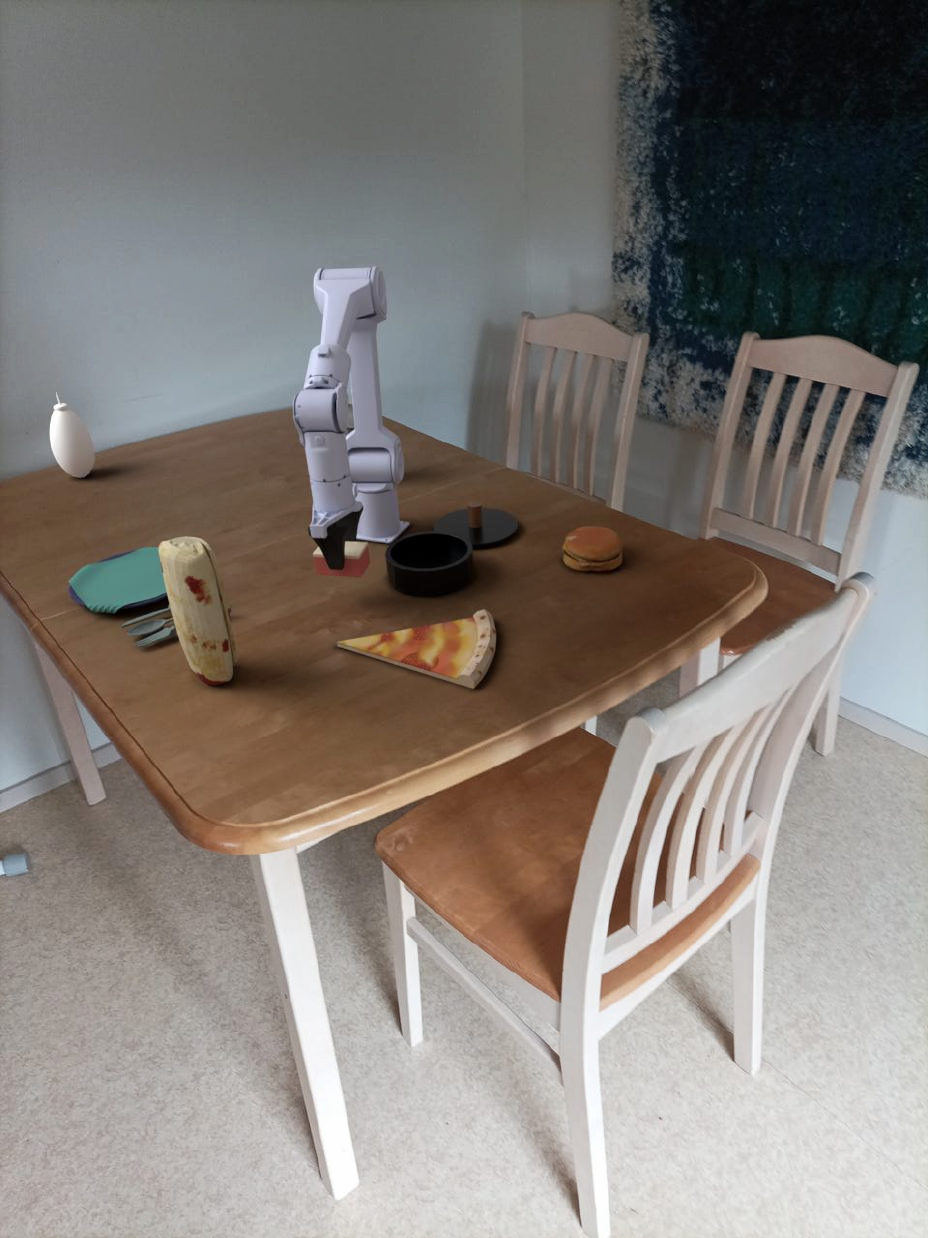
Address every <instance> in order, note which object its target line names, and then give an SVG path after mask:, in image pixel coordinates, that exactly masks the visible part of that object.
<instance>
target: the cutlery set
mask: <svg viewBox="0 0 928 1238" xmlns="http://www.w3.org/2000/svg"><path fill="white" fill-rule="evenodd" d="M158 548H159V546H156V547H155V546H151V547H149V546H145V547H142V548H139V549H136V550H130V551H126V552H122V553H118V554H114V555H111V556H109V557H107V558H104V559H101V560H99V561H97V562H93V563H90V564H86V565H84V566H83V567H82V568H80V569H79V571H77V572H76V573H75V574H74V575H73V576H72V577H71V578H69V580H68V581H67V582H68V583H69V587H68V592H69V595H70V598H71V600H73V601H74V602H75V603H77V604H78V605H79V606H82V607H86V608H88V609H89V610H90V611H91V612H93V613H99V614H100V613H102V614H104V613H108V614H115V613H116V612H117V611H118V610H126V609H132V608H133V609H134V608H138V607H142V606H146V605H149V604H153V603H156V602H159V601H161V600H164V599H166V598H168V595H167V591H166V587H165V582H164V577H163V572H162V568H161V563H160V557H159V551H158ZM228 608H229V613H230V614H231V613H232V608H231V606H229V605H228ZM169 612H170V613H171V614H172V611H171V607H170V604H168V605H167V608H164V609H159V610H156V611H152V612H150V613H147V614H144V615H142V616H139V617H136V618H133V619H130V620H128V621H126V622H124V623H122V624H121V626H120V627H121V629H124V628H127V627H129V626H132V625H135V624H136V625H135V626H132V627H131V628H130V629H129V630H127V632H126V634H127V636H129V637H144V636H148V635H150V636H148V637H145V638H144V639H141V640H138V641H135V642H134V644H135V647H137V648H143V647H147V646H149V645H151V644H154V643H157V642H161V641H166V640H168V639H170V638H173V637H174V636H175V635H178V634H177V631H176V627H175V625H171V626H170V627H164V626H165V625H167V624H169V623H171V622H174V620H173V616H172V617H170V618H169V619H164V618H163V619H162V618H161V619H160V618H159V619H152V618H156V617H158V616H160V615H164V614H167V613H169ZM149 619H151V620H149ZM147 620H148V621H147ZM141 622H142V623H141ZM138 623H139V624H138ZM163 627H164V628H163ZM162 628H163V629H162ZM161 629H162V630H161Z"/></svg>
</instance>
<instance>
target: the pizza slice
mask: <svg viewBox="0 0 928 1238" xmlns="http://www.w3.org/2000/svg"><path fill="white" fill-rule="evenodd" d="M496 644H497V630H496V627H495V622H494V617H493V615H492V614H491V612H490V611H488V610H487V609H486V608H484V609H481V610H477V611H476V612H475V613H474V614H473V615H472V617H468V618H462V619H456V620H451V621H445V622H440V623H434V624H429V625H422V626H418V627H412V628H406V629H401V630H396V631H389V632H384V633H378V634H372V635H367V636H362V637H356V638H350V639H346V640H340V641H339V640H338V641H336V645H337V646H336V647H338V648H341V649H345V650H348V651H352V652H354V653H357V654H360V655H364V656H367V657H370V658H373V659H377V660H380V661H383V662H387V663H389V664H393V665H395V666H398V667H402V668H405V669H408V670H412V671H415V672H418V673H421V674H424V675H428V676H431V677H434V678H437V679H440V680H443V681H447V682H450V683H453V684H456V685H459V686H462V687H465V688H468V689H472V690H474V689H475V688H476V687H478V685H479V684H480V682H481V681H482V680H483V679H484V677H485V675H486V674H487V672H488V671H489V668H490V666H491V663H492V661H493V659H494V655H495V653H496V646H497V645H496Z"/></svg>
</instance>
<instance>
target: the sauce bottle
mask: <svg viewBox="0 0 928 1238" xmlns="http://www.w3.org/2000/svg"><path fill="white" fill-rule="evenodd" d="M55 396H56V399H57V404H55V405H53V413H52V415H51V418H50V424H49V442H50V447H51V450H52V453H53V456H54V458H55V460H56V462H57V464H58V465H59V467H60V468H61V469H62V470H63V471H64V472H65V473H66V474H68V475H71V476H72V477H74V478H78V479H82V478H85V477H86V476H87V475H89V474H90V472H91V471H92V470H93V469H94V466H95V462H96V450H95V444H94V441H93V439H92V437H91V434H90V432H89V430H88V429H87V427H86V425H85V424H84V422H83V421H82V420H81V419H80V417H79V416H78V415H77V414H76V412H75V411H74V410H72V409H71V408H69V405H68V404H67V403H66V402H65V403H63V402H61V397H60V395H59V394H58V392H57V391H56V392H55ZM84 473H85V474H84ZM73 474H74V475H73Z"/></svg>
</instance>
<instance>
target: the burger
mask: <svg viewBox="0 0 928 1238" xmlns="http://www.w3.org/2000/svg"><path fill="white" fill-rule="evenodd" d="M623 547H624V546H623V542H622V540H621V537H620V535H619V534H618V533H617V532H616V531H615V530H613V529H610V528H608V527H603V526H594V525H593V526H592V525H591V526H590V525H588V526H587V525H586V526H580V527H578V528H576V529H574V530H573V531H571V532H569V533H567V534H566V535H565V538H564V542H563V545H562V550H561V553H562V554H563V557H562V558H563V559H562V560H563V563H564V565H566V566H567V567H568V568H570V569H572V570H574V571H577V572H590V571H593V572H594V571H595V572H604V571H611V570H615V569H616V568H618V567H619V566H620V565H621V564H622V562H623V552H622V551H623Z"/></svg>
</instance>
